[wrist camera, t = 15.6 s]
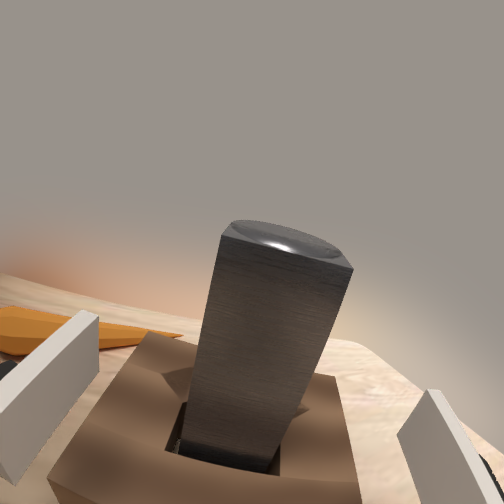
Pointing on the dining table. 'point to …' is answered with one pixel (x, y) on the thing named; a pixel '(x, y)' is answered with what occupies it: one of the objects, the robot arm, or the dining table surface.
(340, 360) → the dining table surface
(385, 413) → the dining table surface
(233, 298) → the d peg
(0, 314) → the carrot
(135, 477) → the socket block
